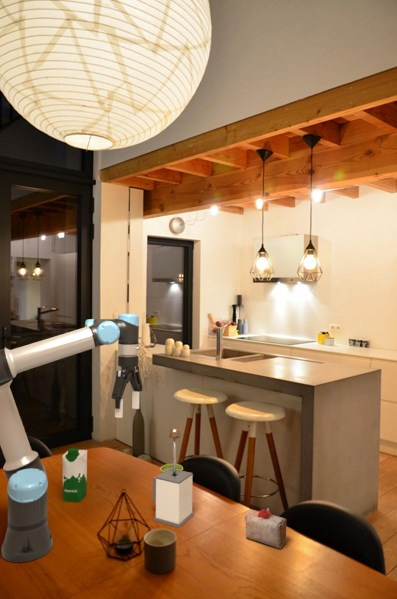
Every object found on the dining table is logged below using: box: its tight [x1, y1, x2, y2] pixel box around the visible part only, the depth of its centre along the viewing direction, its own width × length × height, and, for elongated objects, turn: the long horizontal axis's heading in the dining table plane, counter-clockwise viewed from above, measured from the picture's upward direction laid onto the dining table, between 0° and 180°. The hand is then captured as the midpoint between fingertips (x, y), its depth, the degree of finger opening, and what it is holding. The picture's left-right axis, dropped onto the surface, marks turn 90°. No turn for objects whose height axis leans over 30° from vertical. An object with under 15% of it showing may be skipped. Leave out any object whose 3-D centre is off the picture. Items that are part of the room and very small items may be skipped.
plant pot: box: [160, 463, 184, 474], centre depth 192 cm, size 9×9×9 cm
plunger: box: [168, 426, 181, 476], centre depth 166 cm, size 7×7×20 cm
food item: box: [244, 508, 287, 550], centre depth 152 cm, size 14×8×10 cm, turn 57°
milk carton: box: [61, 447, 88, 503], centre depth 182 cm, size 9×9×20 cm
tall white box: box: [152, 468, 194, 528], centre depth 167 cm, size 10×14×16 cm
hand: (127, 412), depth 169 cm, fingers open, 13 cm apart
